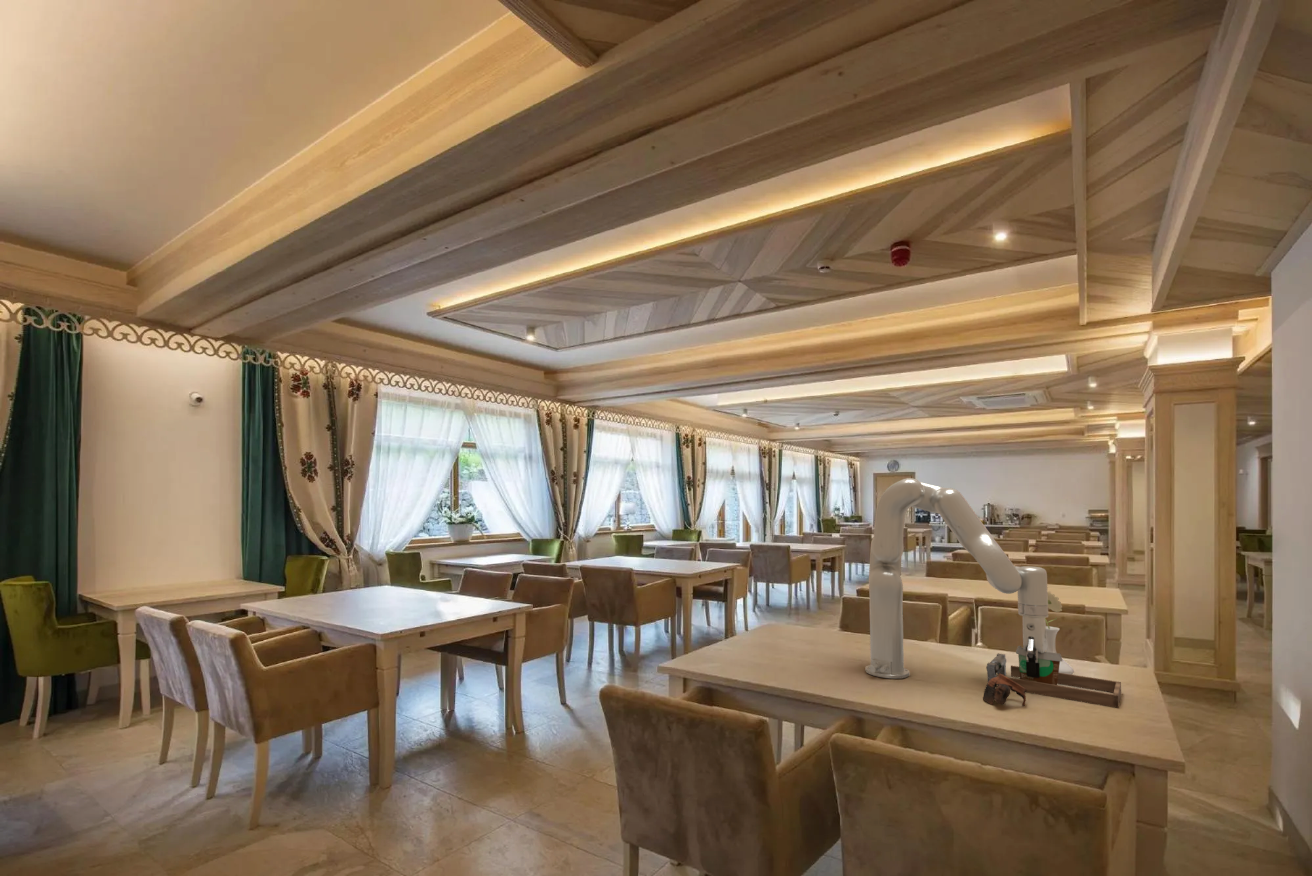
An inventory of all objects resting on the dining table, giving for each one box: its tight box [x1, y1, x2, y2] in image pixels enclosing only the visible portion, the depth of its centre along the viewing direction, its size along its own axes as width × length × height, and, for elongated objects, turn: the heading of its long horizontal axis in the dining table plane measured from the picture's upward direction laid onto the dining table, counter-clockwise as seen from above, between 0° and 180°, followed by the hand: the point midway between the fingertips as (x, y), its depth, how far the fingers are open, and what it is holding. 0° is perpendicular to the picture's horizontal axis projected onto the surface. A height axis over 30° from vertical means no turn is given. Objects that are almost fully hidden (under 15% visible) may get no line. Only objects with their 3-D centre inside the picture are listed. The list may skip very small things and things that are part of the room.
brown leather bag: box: [982, 674, 1027, 707], centre depth 170 cm, size 12×10×8 cm
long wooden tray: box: [1007, 665, 1122, 709], centre depth 182 cm, size 16×27×3 cm, turn 52°
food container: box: [1015, 645, 1063, 685], centre depth 186 cm, size 12×6×10 cm, turn 31°
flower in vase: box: [1045, 590, 1075, 675], centre depth 201 cm, size 13×11×25 cm
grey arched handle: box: [985, 653, 1007, 683], centre depth 193 cm, size 18×3×6 cm, turn 142°
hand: (1035, 673), depth 186 cm, fingers open, 6 cm apart
